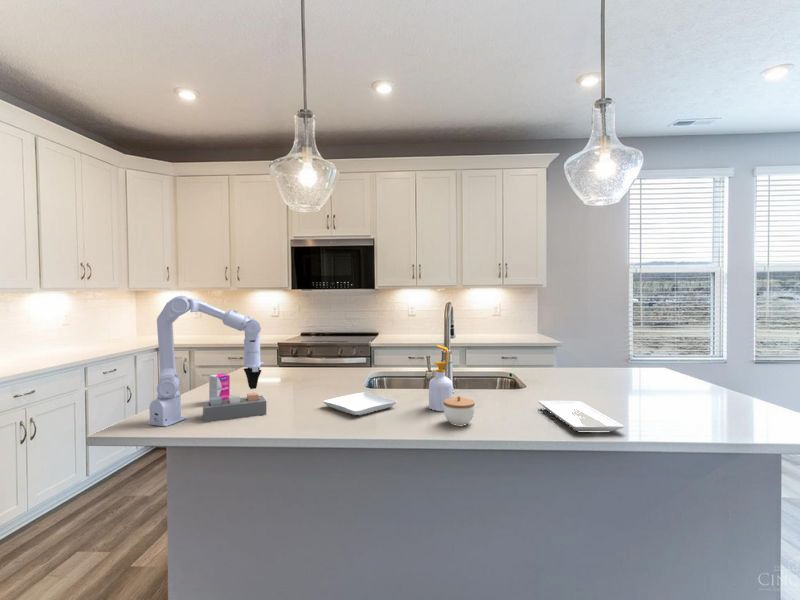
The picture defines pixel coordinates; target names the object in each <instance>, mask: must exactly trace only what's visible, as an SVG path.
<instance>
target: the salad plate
mask: <svg viewBox="0 0 800 600" xmlns="http://www.w3.org/2000/svg"><path fill="white" fill-rule="evenodd" d="M397 403H398V401H397V400H395V399H393V398H388V397H385V396H382V395H377V394H374V393H370V392H365V391H362V392H358V393H357V392H356V393H352V394H346V395H342V396H337V397H333V398H329V399H326V400H323V404H324V405H326V406H327V407H330V408H332V409H335V410H336V411H340V412H343V413H345V414H348V413H349V414H348V415H351V414H352V415H351V416H356V415H359V416H364V415H367V414H366V413H368V414H371V413H370V412H372V413H375V412H374V411H376V412H379V411H378V410H380V411H383V410H386V409H389V408H392V407H393V406H395V405H396V404H397ZM382 409H383V410H382ZM363 414H364V415H363Z"/></svg>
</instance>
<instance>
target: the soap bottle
mask: <svg viewBox="0 0 800 600" xmlns="http://www.w3.org/2000/svg"><path fill="white" fill-rule="evenodd" d="M435 347H436V348H439V349H442V350H443V351H445V352H446V361H435V362H434V365H436V366H437V368H438V369H436V373H435V374H436V375H435V376H434V377H432V378H431V379H430V380H429V381H428V382H429V383H428V409H430V410H431V409H432V410H431V411H434V410H436V412H444V404H443V401H444V400H445V399H447V398H453V382H452V380H451V379H450V378H449V377H447V376H446V370H445V369H444V367H445V365H447V364H448V363H449V361H450V359H449V353H450V352H449V351H450V350H449V348H448V347H446V346H443V345H440V344H436V346H435Z"/></svg>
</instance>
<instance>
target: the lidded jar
mask: <svg viewBox="0 0 800 600" xmlns="http://www.w3.org/2000/svg"><path fill="white" fill-rule="evenodd" d="M443 404H444V411H443V413H444V416H445V418H446V420H447V421H448V423H449V424H450V423H452V424H456V425H464V424H467V423H468V424H469V423H470V422H471V421H472V419H473V417H474V413H475V404H476V402H475V401H474V400H473V399H472V398H468V397H461V396H460V395H458V396H455V397H454V396H452V398H447V399H445V400H444V401H443ZM468 424H467V425H468Z"/></svg>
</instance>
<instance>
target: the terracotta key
mask: <svg viewBox="0 0 800 600" xmlns="http://www.w3.org/2000/svg"><path fill="white" fill-rule="evenodd" d="M259 396H260V395H259V393H258V392H251V393H246V397H247V402H249V401H258V400H259Z"/></svg>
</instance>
